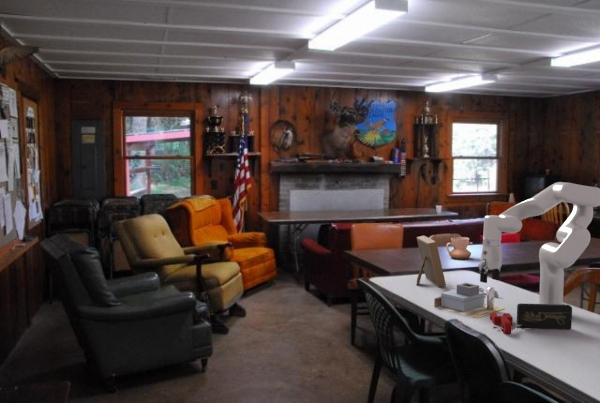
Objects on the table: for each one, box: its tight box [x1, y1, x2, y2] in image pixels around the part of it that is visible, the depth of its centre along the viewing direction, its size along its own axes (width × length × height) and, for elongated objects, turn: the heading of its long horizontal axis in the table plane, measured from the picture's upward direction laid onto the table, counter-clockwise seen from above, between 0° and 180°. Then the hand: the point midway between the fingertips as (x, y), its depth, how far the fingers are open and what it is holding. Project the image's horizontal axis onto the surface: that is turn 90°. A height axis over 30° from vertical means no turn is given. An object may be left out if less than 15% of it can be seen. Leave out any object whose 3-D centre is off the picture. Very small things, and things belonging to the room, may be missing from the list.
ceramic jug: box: [445, 236, 473, 260], centre depth 363 cm, size 18×14×14 cm
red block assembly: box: [489, 312, 513, 335], centre depth 214 cm, size 16×7×5 cm, turn 172°
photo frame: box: [416, 235, 447, 288], centre depth 292 cm, size 15×22×25 cm
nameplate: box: [516, 302, 573, 331], centre depth 214 cm, size 21×2×10 cm, turn 84°
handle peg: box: [486, 286, 495, 311], centre depth 235 cm, size 3×3×10 cm
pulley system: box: [479, 287, 499, 299], centre depth 263 cm, size 27×5×15 cm
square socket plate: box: [440, 282, 486, 312], centre depth 240 cm, size 12×16×10 cm
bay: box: [433, 296, 505, 321], centre depth 238 cm, size 22×22×6 cm
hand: (489, 280), depth 234 cm, fingers open, 9 cm apart
